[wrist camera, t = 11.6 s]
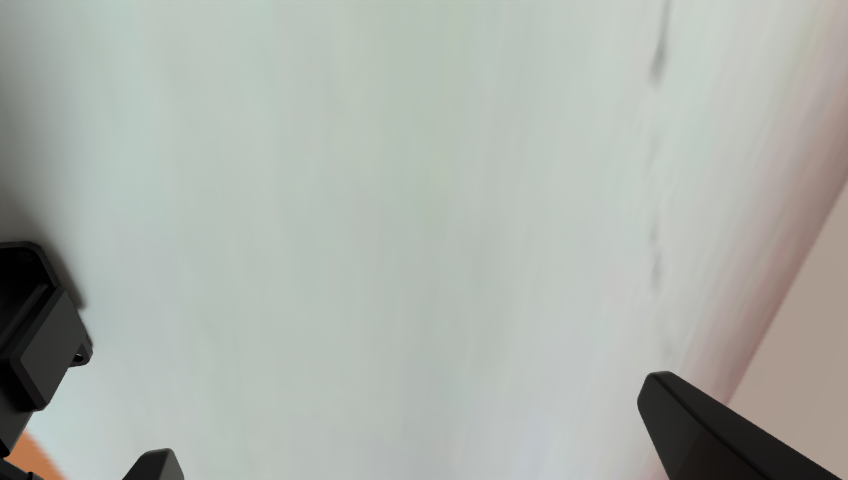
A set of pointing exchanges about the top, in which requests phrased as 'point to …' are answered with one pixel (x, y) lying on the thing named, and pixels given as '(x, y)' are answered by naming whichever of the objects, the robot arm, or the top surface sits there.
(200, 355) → the top surface
